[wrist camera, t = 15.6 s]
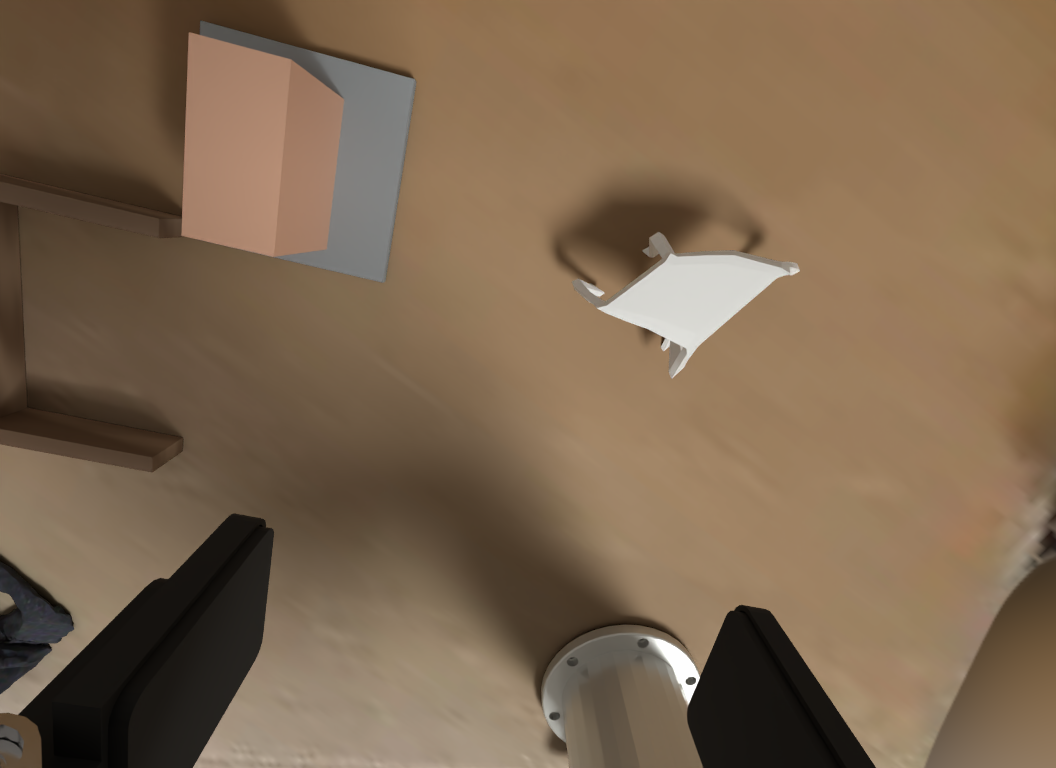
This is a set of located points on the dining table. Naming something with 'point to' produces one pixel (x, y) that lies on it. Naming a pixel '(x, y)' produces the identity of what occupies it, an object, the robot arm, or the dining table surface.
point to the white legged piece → (688, 294)
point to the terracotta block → (257, 150)
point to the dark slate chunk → (26, 628)
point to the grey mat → (353, 154)
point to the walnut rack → (3, 350)
